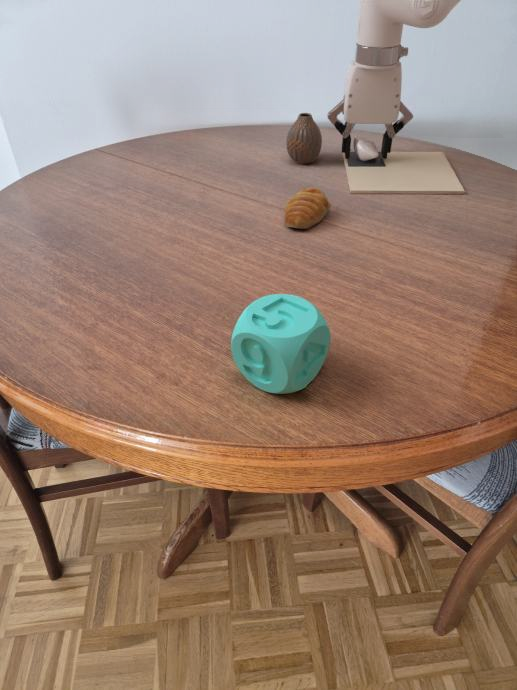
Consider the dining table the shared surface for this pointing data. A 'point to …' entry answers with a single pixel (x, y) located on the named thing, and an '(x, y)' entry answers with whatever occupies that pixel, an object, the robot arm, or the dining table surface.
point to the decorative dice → (280, 343)
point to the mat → (402, 174)
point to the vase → (304, 140)
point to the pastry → (306, 208)
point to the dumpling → (365, 148)
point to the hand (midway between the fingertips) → (365, 155)
